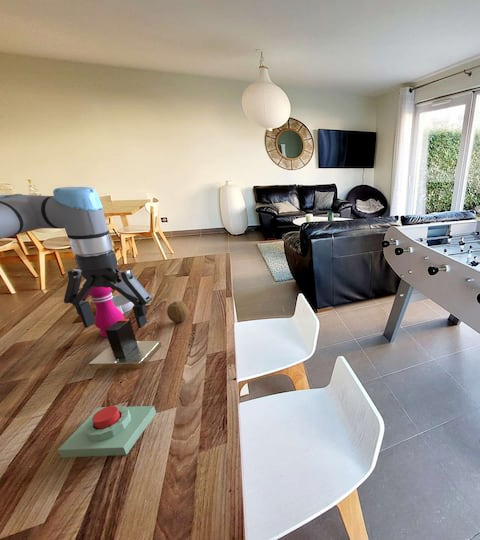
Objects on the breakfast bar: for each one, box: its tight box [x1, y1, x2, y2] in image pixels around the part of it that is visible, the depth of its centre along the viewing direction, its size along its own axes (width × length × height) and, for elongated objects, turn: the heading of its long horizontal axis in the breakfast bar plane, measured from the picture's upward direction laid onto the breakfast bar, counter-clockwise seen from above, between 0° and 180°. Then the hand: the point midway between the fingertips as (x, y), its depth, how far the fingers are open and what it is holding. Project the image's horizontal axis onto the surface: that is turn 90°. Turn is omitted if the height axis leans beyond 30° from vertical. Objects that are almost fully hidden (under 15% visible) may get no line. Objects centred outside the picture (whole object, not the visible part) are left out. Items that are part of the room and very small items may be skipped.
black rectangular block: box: [105, 318, 138, 358], centre depth 80 cm, size 6×3×9 cm, turn 4°
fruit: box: [166, 300, 189, 323], centre depth 99 cm, size 6×6×8 cm
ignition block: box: [57, 405, 157, 458], centre depth 60 cm, size 12×10×4 cm
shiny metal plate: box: [88, 340, 162, 370], centre depth 82 cm, size 13×10×2 cm
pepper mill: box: [88, 287, 125, 338], centre depth 90 cm, size 7×7×20 cm
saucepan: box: [112, 294, 135, 315], centre depth 104 cm, size 11×18×4 cm, turn 45°
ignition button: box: [92, 405, 120, 429], centre depth 59 cm, size 4×4×2 cm
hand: (116, 325), depth 79 cm, fingers open, 13 cm apart
